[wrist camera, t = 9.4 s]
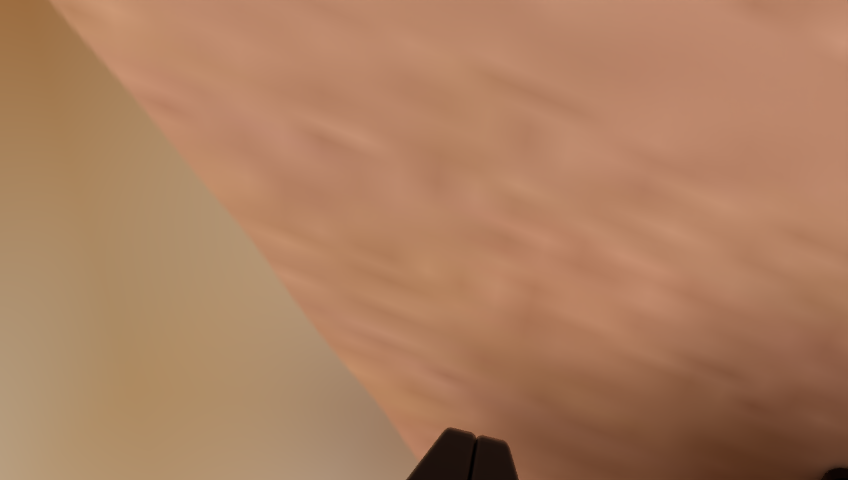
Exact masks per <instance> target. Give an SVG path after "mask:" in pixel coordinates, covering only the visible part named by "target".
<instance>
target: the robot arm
mask: <svg viewBox="0 0 848 480" xmlns="http://www.w3.org/2000/svg"><path fill="white" fill-rule="evenodd" d="M406 480H519V479H518V475H517V472H516V468H515V465H514V462H513V458H512V455H511V451H510V448H509V446H508V444H507V443H506V442H505V441H503V440H499V439H495V438H491V437H487V436H483V435H482V436H478V437H477V439H476V437H475V435H474V434H473V433H471V432H467V431H463V430H459V429H455V428H447V429H446V430H444V431H443V433H442V434H441V435H440V436H439V438H438V439H437V440H436V442H435V443H434V444H433V446H432V447H431V448H430V449H429V451H428V452H427V453H426V455H425V456H424V457H423V459H422V460H421V461H420V462H419V464H418V465H417V466H416V468H415V469H414V470H413V472H412V473H411V474H410V476H409V477H408V478H407V479H406ZM821 480H848V469H843V468H838V469H833V470H830V471H828V472H827V473H826V474H825V475H824V476H823V478H822V479H821Z"/></svg>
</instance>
